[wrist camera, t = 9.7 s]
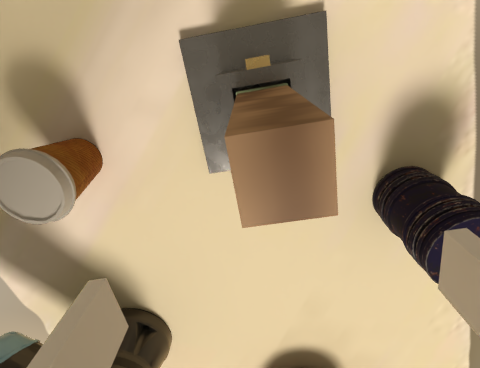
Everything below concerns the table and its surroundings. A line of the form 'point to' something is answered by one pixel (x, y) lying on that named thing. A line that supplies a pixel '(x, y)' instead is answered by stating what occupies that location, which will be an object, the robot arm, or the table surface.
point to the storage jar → (423, 213)
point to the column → (281, 157)
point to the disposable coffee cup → (46, 179)
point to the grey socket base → (253, 71)
